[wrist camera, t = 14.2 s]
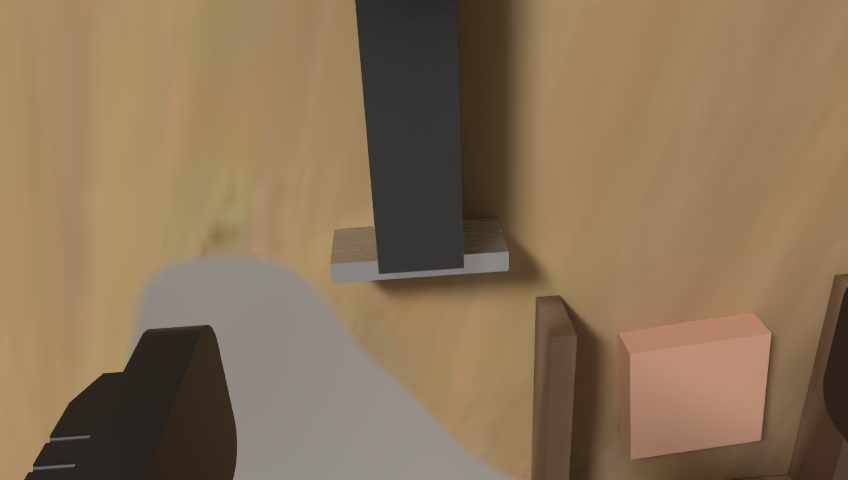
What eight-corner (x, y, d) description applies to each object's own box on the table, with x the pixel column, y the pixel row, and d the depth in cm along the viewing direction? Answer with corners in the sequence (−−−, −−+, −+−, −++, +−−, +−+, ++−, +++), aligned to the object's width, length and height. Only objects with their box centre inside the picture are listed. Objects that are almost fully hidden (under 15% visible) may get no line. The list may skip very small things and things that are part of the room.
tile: (749, 307, 32) (771, 333, 31) (741, 411, 35) (760, 440, 33) (615, 327, 32) (629, 354, 31) (617, 429, 35) (630, 459, 33)
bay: (858, 273, 31) (903, 310, 29) (803, 488, 37) (837, 535, 34) (536, 297, 31) (551, 337, 28) (530, 511, 37) (543, 561, 34)
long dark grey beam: (495, -116, 24) (516, -114, 20) (496, 235, 30) (513, 284, 26) (296, -105, 24) (282, -101, 20) (336, 246, 29) (331, 297, 26)
